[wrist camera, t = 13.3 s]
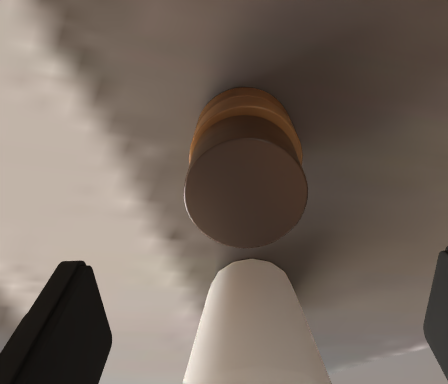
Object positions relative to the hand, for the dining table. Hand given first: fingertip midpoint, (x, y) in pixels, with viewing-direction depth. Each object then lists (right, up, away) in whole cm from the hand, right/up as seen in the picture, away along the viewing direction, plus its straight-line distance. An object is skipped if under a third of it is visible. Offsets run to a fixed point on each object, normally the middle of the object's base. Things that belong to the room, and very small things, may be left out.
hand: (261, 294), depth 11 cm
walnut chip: (0, +4, +10) cm, 11 cm away
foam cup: (+1, -5, +20) cm, 20 cm away
